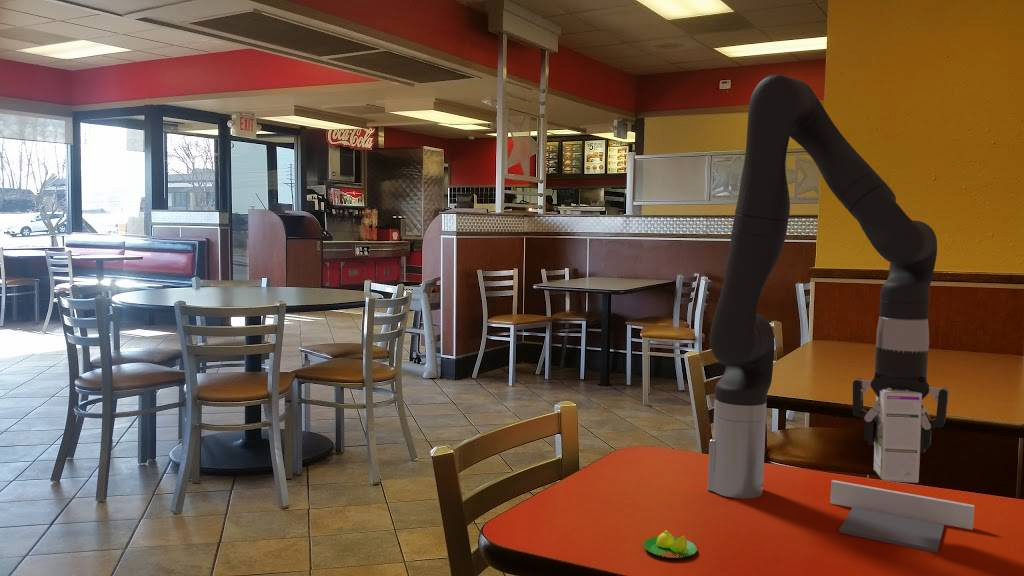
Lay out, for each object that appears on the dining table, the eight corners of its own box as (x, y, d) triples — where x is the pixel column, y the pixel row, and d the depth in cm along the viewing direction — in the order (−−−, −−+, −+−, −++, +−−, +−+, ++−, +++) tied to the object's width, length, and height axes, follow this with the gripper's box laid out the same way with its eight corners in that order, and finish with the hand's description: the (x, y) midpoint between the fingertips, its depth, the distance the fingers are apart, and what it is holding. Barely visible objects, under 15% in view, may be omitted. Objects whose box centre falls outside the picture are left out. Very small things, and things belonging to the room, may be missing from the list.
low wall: (830, 503, 141) (831, 481, 141) (831, 501, 142) (832, 479, 142) (972, 530, 130) (974, 507, 129) (972, 529, 130) (974, 505, 130)
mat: (839, 532, 128) (839, 528, 128) (852, 510, 138) (852, 507, 138) (937, 553, 120) (937, 549, 120) (944, 528, 130) (944, 524, 130)
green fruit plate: (706, 549, 121) (706, 531, 121) (680, 566, 115) (681, 547, 115) (660, 535, 126) (660, 518, 126) (633, 551, 120) (633, 532, 120)
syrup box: (919, 483, 125) (925, 392, 124) (879, 480, 126) (884, 390, 125) (909, 472, 131) (914, 385, 129) (871, 469, 132) (875, 383, 131)
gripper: (849, 344, 127) (844, 445, 129) (951, 353, 120) (945, 460, 121) (857, 339, 134) (853, 435, 135) (955, 347, 126) (949, 449, 127)
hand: (896, 447), depth 128 cm, fingers closed on syrup box, 7 cm apart
